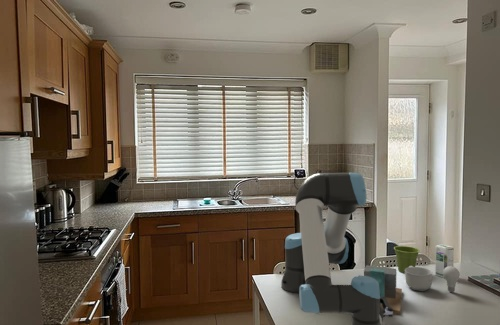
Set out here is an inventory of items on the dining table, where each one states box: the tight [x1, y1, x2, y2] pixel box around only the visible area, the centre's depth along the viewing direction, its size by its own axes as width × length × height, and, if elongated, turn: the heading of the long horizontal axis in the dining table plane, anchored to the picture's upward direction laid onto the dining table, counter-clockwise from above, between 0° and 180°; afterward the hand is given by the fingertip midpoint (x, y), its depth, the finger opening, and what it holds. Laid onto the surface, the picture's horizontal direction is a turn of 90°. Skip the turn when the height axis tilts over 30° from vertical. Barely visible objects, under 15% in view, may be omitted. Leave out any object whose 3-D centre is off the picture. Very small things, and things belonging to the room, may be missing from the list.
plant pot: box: [393, 245, 420, 274], centre depth 177 cm, size 12×12×11 cm
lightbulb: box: [443, 266, 461, 293], centre depth 151 cm, size 6×6×11 cm
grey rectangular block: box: [363, 265, 397, 299], centre depth 147 cm, size 12×8×10 cm, turn 66°
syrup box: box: [434, 244, 455, 279], centre depth 170 cm, size 6×6×14 cm
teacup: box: [404, 266, 433, 292], centre depth 157 cm, size 14×11×8 cm
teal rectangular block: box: [370, 268, 385, 304], centre depth 140 cm, size 5×14×12 cm, turn 156°
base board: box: [380, 287, 403, 316], centre depth 144 cm, size 16×23×2 cm
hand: (376, 291), depth 131 cm, fingers closed
